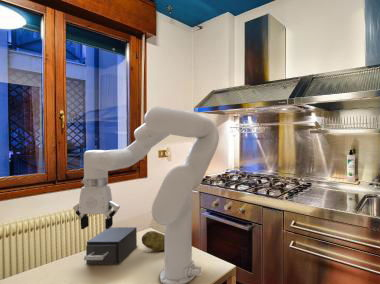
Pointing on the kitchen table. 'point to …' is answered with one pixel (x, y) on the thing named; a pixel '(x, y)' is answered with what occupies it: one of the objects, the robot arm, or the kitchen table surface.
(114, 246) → the handled dark box
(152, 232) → the potato
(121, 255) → the dark gray cabinet
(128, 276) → the kitchen table surface
